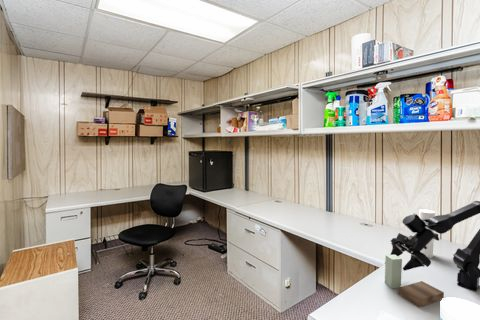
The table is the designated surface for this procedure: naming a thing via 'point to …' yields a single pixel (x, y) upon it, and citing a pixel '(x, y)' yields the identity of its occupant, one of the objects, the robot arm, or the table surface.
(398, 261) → the block
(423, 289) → the plinth
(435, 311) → the table surface
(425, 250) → the cylindrical container
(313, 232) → the table surface
